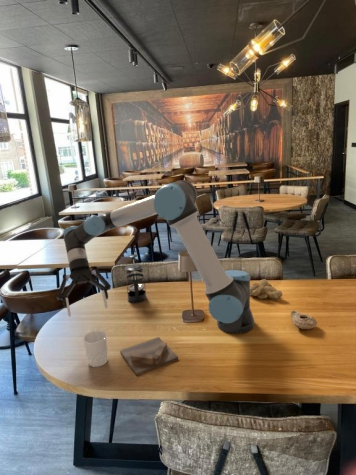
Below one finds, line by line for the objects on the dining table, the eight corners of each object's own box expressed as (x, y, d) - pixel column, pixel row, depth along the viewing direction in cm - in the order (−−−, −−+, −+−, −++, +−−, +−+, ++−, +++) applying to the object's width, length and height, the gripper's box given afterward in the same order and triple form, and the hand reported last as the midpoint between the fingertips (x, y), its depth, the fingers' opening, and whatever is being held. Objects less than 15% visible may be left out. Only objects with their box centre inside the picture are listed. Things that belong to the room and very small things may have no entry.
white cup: (103, 369, 118) (100, 343, 115) (83, 367, 120) (79, 342, 117) (112, 355, 125) (109, 331, 123) (92, 354, 127) (89, 330, 124)
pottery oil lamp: (300, 315, 145) (309, 303, 142) (312, 338, 135) (323, 326, 132) (282, 312, 142) (291, 300, 139) (294, 335, 133) (304, 323, 129)
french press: (147, 302, 166) (143, 257, 160) (128, 304, 164) (123, 259, 158) (145, 292, 177) (141, 250, 171) (127, 294, 176) (122, 252, 170)
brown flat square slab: (120, 352, 127) (119, 344, 126) (158, 339, 134) (158, 331, 133) (136, 375, 114) (135, 367, 113) (178, 359, 121) (177, 351, 120)
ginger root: (242, 287, 174) (246, 272, 171) (272, 292, 174) (276, 278, 172) (246, 301, 159) (251, 286, 157) (279, 308, 159) (284, 293, 157)
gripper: (108, 260, 145) (120, 307, 136) (46, 271, 136) (54, 322, 127) (109, 252, 139) (121, 300, 129) (44, 263, 130) (52, 315, 121)
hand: (88, 311), depth 128 cm, fingers open, 13 cm apart
